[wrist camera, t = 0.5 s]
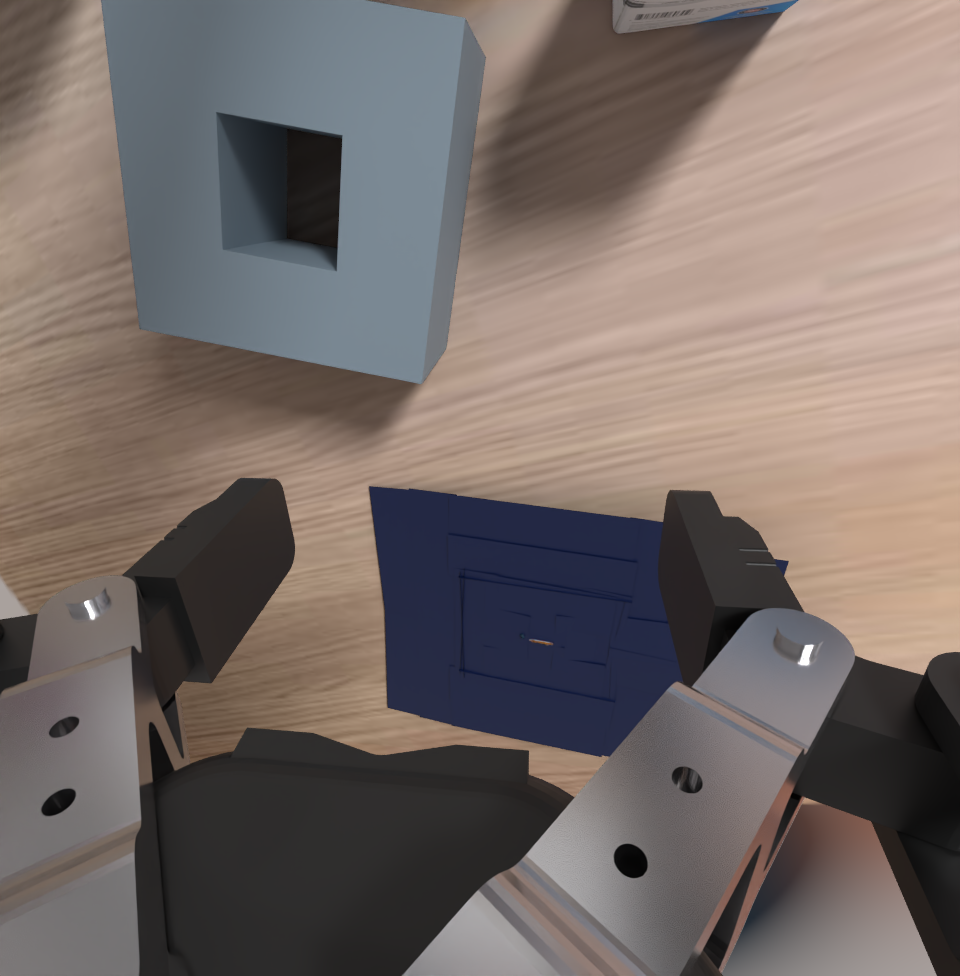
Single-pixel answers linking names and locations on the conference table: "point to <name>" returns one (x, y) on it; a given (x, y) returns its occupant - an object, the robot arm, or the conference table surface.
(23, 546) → the conference table surface
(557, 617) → the navy flat slab
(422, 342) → the hole block
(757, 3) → the ink box
